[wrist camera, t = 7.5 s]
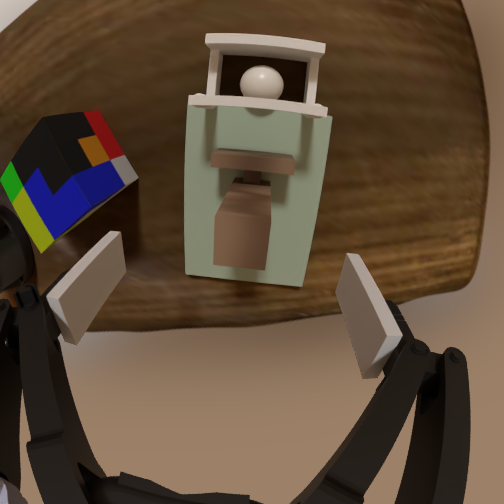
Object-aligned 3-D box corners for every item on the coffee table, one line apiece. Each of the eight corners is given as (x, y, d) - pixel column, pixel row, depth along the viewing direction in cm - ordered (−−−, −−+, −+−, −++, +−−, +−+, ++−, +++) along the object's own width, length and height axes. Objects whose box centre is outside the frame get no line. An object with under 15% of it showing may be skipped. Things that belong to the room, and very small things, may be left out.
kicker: (215, 208, 28) (188, 261, 19) (219, 147, 25) (188, 169, 16) (283, 215, 28) (290, 273, 19) (291, 154, 25) (306, 180, 16)
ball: (242, 56, 20) (243, 83, 24) (236, 82, 20) (237, 111, 24) (286, 59, 20) (282, 87, 24) (284, 87, 20) (280, 115, 24)
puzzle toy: (138, 178, 29) (91, 206, 20) (87, 217, 32) (41, 253, 23) (99, 110, 25) (42, 117, 16) (52, 158, 28) (0, 179, 19)
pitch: (188, 267, 34) (171, 305, 27) (197, 46, 22) (174, 26, 15) (300, 279, 34) (307, 320, 27) (335, 59, 22) (357, 41, 15)
